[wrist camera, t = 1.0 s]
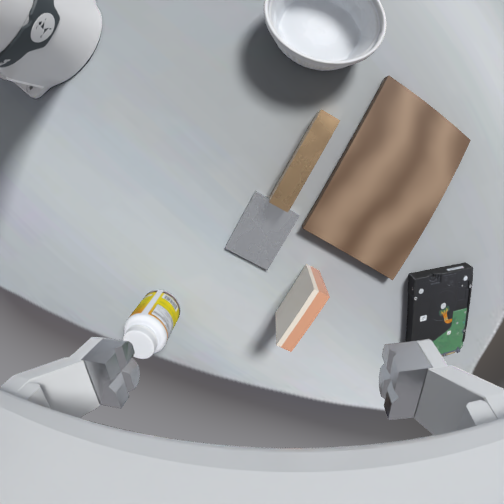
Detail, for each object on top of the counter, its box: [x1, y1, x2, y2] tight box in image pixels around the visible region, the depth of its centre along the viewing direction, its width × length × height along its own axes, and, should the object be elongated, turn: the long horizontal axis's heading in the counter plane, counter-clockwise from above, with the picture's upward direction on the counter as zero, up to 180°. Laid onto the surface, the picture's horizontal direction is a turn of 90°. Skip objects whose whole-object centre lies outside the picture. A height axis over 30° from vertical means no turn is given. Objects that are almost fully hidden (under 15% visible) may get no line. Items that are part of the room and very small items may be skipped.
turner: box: [225, 110, 340, 270], centre depth 37 cm, size 20×6×3 cm, turn 152°
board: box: [302, 76, 470, 280], centre depth 37 cm, size 14×22×2 cm, turn 152°
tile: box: [275, 264, 330, 352], centre depth 39 cm, size 2×8×8 cm, turn 152°
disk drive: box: [406, 263, 473, 356], centre depth 42 cm, size 10×3×15 cm
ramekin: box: [264, 0, 386, 71], centre depth 29 cm, size 13×13×7 cm
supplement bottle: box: [123, 290, 180, 359], centre depth 39 cm, size 6×6×10 cm
